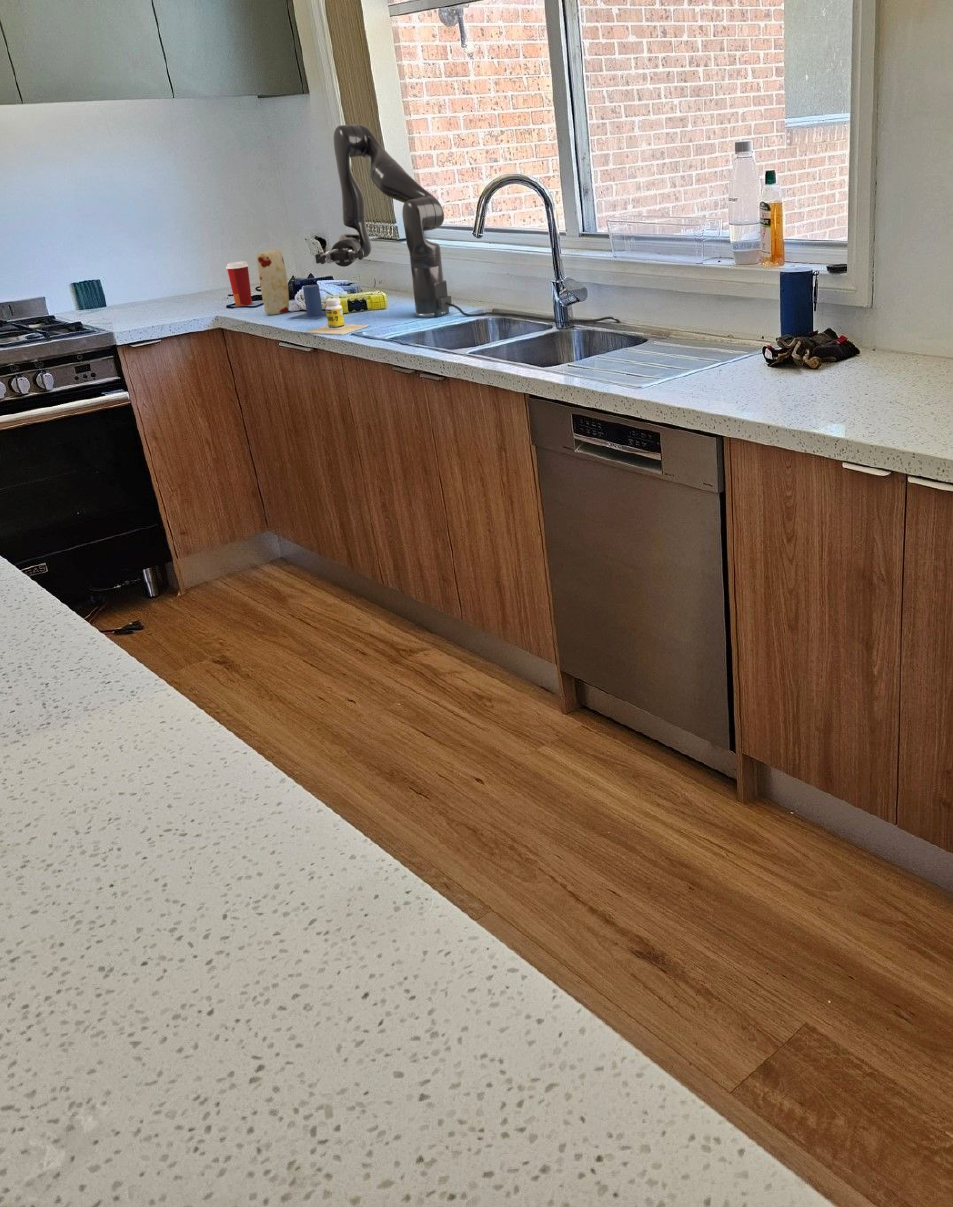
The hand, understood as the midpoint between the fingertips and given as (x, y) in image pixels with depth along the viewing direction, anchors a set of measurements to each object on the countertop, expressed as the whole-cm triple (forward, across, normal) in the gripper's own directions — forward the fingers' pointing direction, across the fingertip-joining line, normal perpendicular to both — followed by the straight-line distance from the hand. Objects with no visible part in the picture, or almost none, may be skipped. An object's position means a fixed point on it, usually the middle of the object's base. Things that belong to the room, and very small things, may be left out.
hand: (335, 259), depth 318 cm
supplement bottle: (+11, 0, +18) cm, 21 cm away
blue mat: (-14, -12, +18) cm, 26 cm away
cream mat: (+11, 0, +18) cm, 21 cm away
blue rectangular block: (-14, -12, +18) cm, 26 cm away
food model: (-24, -26, +18) cm, 40 cm away
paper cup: (-48, -45, +18) cm, 68 cm away
